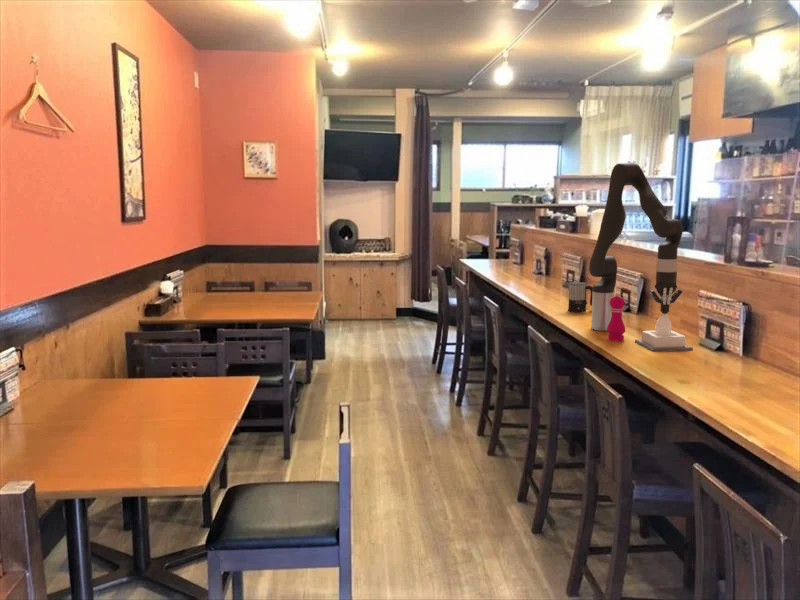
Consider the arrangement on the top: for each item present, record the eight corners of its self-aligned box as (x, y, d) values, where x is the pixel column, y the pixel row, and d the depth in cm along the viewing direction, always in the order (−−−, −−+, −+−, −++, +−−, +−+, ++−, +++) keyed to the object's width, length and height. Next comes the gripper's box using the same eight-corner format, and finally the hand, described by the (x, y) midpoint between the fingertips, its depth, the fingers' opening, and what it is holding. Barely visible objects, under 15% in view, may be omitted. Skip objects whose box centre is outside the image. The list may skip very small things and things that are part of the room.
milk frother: (572, 312, 321) (573, 284, 318) (558, 307, 336) (559, 280, 334) (597, 311, 324) (598, 283, 321) (582, 306, 339) (583, 279, 337)
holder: (634, 341, 255) (635, 330, 254) (672, 340, 256) (673, 328, 255) (652, 351, 239) (653, 338, 239) (692, 349, 240) (693, 337, 239)
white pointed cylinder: (659, 315, 243) (653, 312, 248) (658, 345, 245) (652, 341, 250) (674, 315, 243) (668, 312, 248) (673, 344, 245) (666, 341, 250)
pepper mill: (622, 337, 263) (624, 291, 260) (626, 341, 256) (628, 294, 253) (605, 337, 264) (606, 291, 260) (609, 341, 257) (610, 294, 253)
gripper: (678, 268, 247) (676, 311, 250) (645, 269, 246) (644, 312, 249) (687, 270, 239) (685, 314, 242) (654, 271, 239) (652, 315, 241)
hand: (664, 313), depth 246 cm, fingers closed
